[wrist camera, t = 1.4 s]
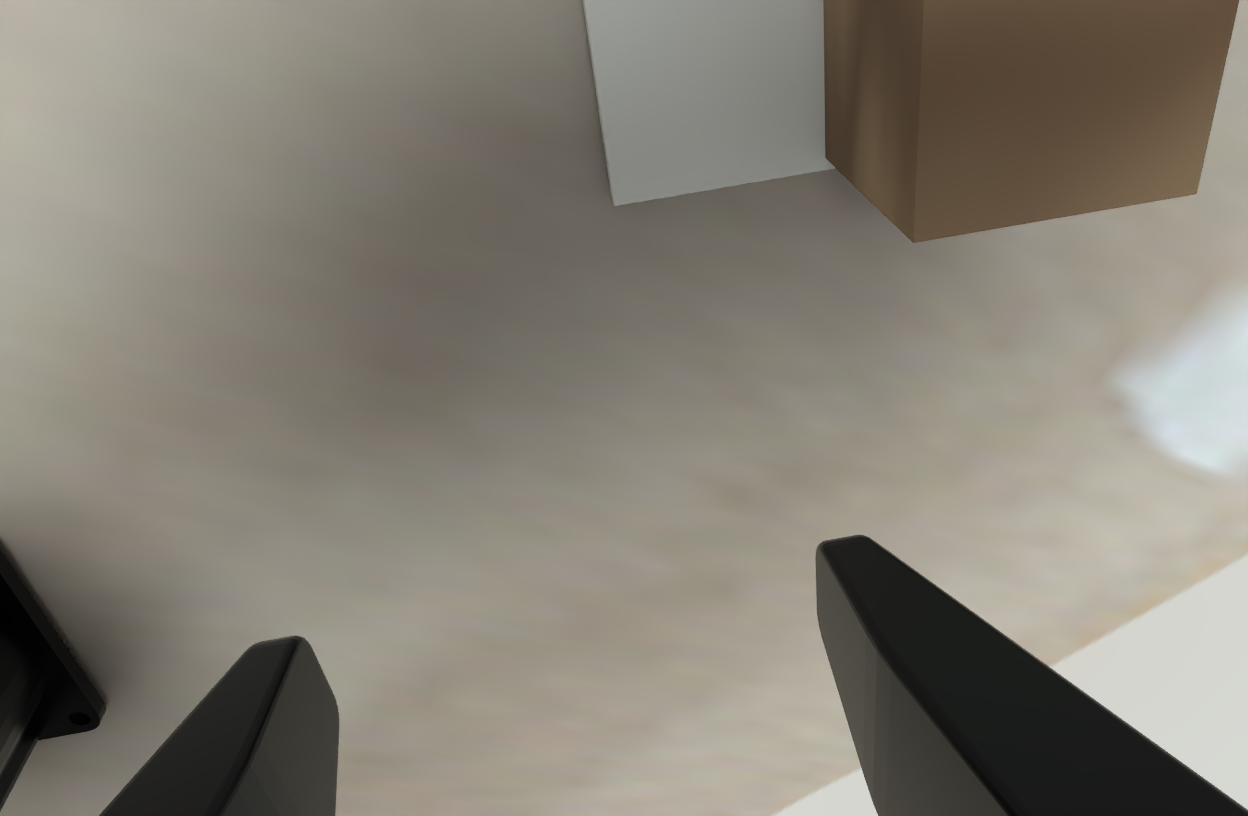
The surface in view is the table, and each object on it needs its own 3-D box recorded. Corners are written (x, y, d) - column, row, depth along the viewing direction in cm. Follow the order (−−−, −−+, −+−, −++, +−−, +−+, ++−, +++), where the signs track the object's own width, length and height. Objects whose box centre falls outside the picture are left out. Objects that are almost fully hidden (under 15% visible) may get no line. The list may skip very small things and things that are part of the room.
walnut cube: (1048, 120, 18) (1196, 194, 14) (825, 157, 18) (913, 242, 14) (1080, -145, 15) (1270, -144, 11) (822, -103, 15) (927, -88, 11)
